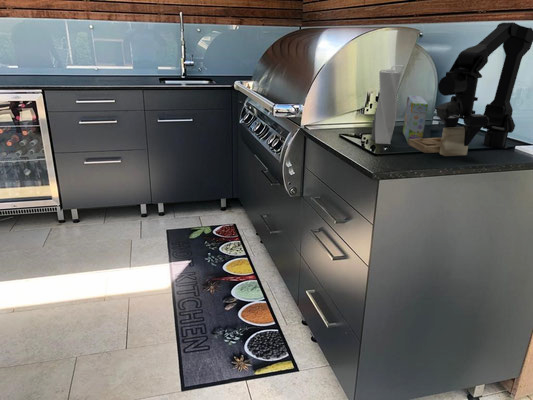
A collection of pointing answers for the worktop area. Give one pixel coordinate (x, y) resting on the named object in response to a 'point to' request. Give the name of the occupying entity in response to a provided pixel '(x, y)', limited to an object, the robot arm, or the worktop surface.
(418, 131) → the snack box
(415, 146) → the oak rack
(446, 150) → the birch panel
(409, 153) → the worktop surface
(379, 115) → the skyscraper
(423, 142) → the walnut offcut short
